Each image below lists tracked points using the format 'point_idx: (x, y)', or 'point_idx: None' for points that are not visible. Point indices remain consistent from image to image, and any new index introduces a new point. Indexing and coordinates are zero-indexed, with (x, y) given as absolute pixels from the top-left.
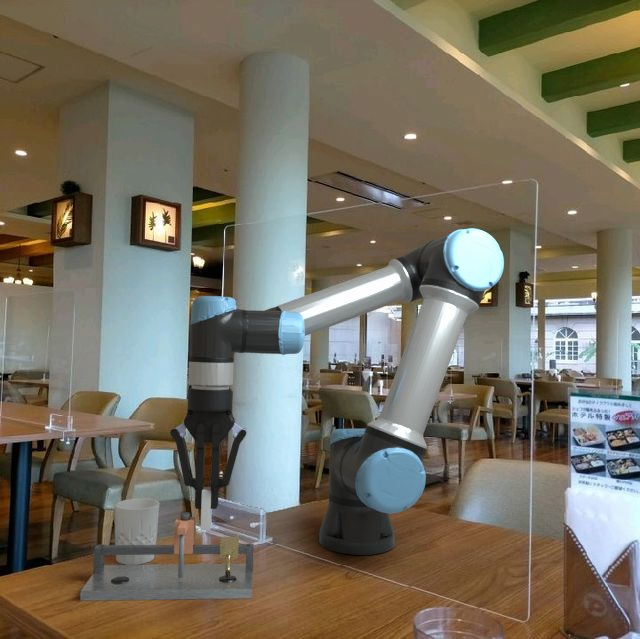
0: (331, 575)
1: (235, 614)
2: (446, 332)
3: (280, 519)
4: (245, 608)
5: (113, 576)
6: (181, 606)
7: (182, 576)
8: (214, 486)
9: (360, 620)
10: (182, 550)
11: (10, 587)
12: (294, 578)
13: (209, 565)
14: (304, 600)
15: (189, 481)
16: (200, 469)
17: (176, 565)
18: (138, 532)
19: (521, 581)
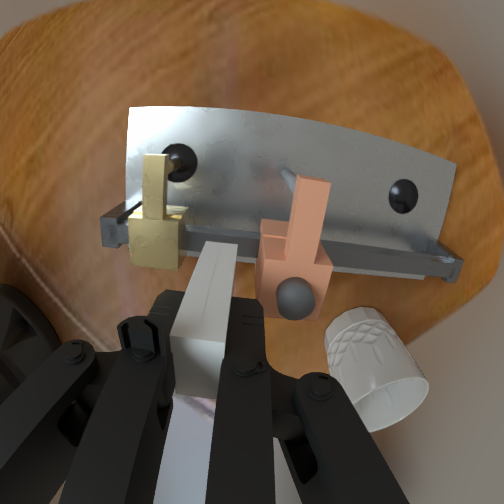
0: (25, 214)
1: (175, 41)
2: None
3: None
4: (153, 65)
5: (412, 220)
6: (281, 84)
7: (283, 170)
8: (141, 350)
9: (19, 52)
10: (294, 180)
11: (500, 239)
12: (67, 205)
13: None
14: (59, 106)
15: (312, 394)
16: (231, 471)
17: None
18: (377, 344)
19: None
